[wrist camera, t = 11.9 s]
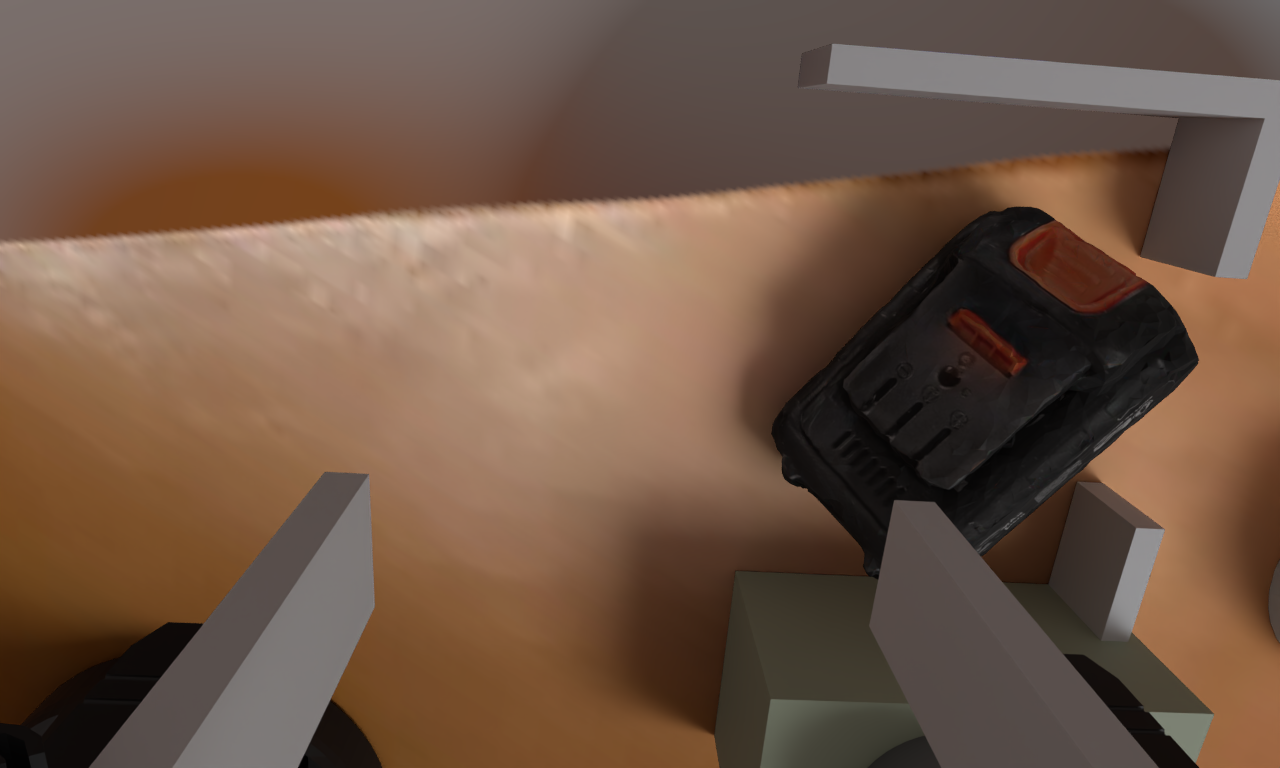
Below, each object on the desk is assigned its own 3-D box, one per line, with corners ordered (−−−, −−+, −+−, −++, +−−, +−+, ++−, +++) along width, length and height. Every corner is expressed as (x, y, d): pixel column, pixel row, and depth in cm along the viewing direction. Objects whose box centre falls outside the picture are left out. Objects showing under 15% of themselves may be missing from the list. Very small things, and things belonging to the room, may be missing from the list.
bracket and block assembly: (714, 736, 33) (762, 1025, 22) (802, 53, 24) (946, 6, 14) (1037, 746, 33) (1229, 1029, 23) (1232, 88, 25) (1677, 69, 15)
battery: (1053, 241, 28) (1006, 142, 23) (1249, 406, 23) (1247, 328, 18) (802, 448, 32) (712, 404, 26) (927, 627, 27) (848, 617, 22)
